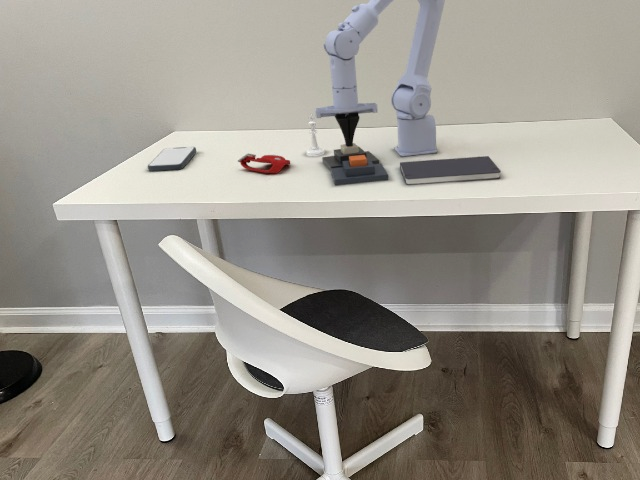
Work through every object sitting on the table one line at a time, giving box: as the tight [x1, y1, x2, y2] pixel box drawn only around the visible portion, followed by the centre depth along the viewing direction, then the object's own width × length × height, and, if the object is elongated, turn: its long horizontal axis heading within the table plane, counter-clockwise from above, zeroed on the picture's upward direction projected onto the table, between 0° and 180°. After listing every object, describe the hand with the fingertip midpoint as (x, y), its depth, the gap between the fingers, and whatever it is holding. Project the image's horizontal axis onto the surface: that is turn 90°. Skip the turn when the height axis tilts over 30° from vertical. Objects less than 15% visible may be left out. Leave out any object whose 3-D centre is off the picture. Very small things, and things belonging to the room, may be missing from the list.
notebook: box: [399, 155, 501, 186], centre depth 142 cm, size 13×2×21 cm
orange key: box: [349, 155, 367, 167], centre depth 141 cm, size 4×4×2 cm
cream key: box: [339, 142, 360, 154], centre depth 151 cm, size 4×4×2 cm
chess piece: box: [305, 113, 326, 157], centre depth 160 cm, size 5×5×10 cm
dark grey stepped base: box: [321, 146, 380, 172], centre depth 152 cm, size 12×9×3 cm
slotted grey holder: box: [330, 159, 389, 186], centre depth 142 cm, size 12×9×3 cm
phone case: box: [147, 146, 197, 172], centre depth 161 cm, size 9×2×16 cm
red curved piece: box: [237, 153, 291, 174], centre depth 150 cm, size 12×4×10 cm
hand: (349, 145), depth 150 cm, fingers closed
